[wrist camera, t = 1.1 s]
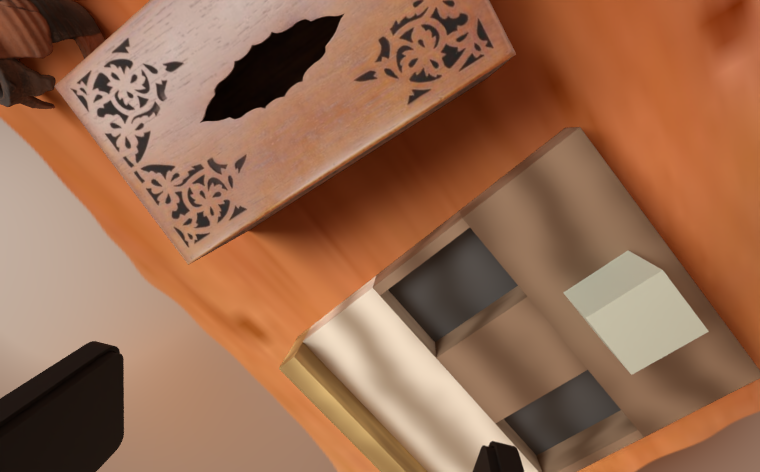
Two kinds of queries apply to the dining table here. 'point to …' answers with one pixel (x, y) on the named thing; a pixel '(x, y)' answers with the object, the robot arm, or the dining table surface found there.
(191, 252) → the tissue box cover
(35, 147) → the dining table surface
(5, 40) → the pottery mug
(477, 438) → the box
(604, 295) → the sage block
